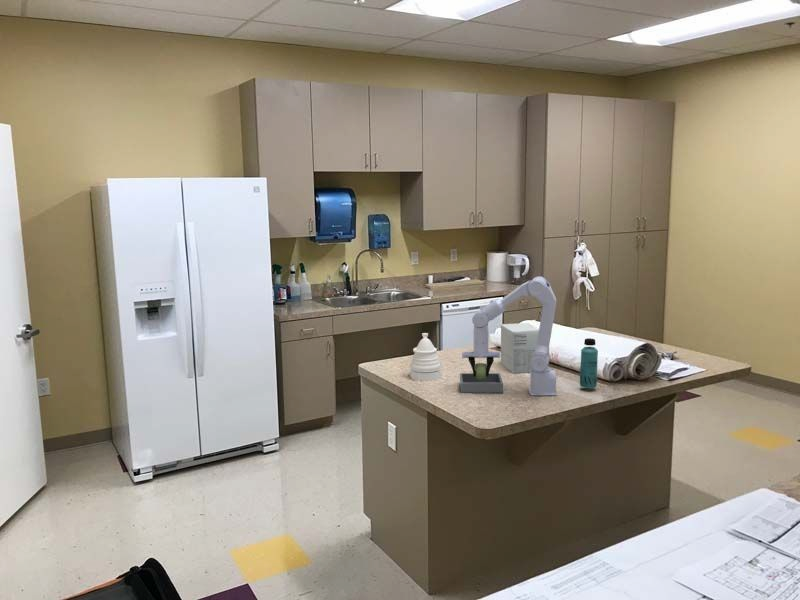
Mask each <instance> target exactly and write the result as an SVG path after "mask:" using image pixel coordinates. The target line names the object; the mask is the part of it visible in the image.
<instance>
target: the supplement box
mask: <svg viewBox="0 0 800 600" xmlns="http://www.w3.org/2000/svg"><path fill="white" fill-rule="evenodd" d="M538 333H539V328H538V327H536V326H534V325H532V324H530V323H529V322H525V323H501V324H500V364H501V365H503V367H505V368H506V369H507V370H509V372H510V373H512V374H519V373H531V368H532V367H531V360H532V358H533V357H534V354H535V350H536V346H537V339H538Z"/></svg>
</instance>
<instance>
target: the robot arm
mask: <svg viewBox="0 0 800 600" xmlns="http://www.w3.org/2000/svg"><path fill="white" fill-rule="evenodd" d="M530 295H531V296H532V297H534V298H536V299H537V300H538V301H539V302H540V303H541V304H542V310H541V316H540V320H539V321H540V323H539V328H538V329H539V333H538V339H537V346H536V350H535V354H534V357H533V358H532V360H531V367H532V368H531V372H530V382H529V383H530V387H528V389H527V390H528V392H529V394H530V396H557V374H556V370H555V369H551V368H550V367H549V364H550V362H551V361H550V360H551V356H550V352H549V351H550V344H551V337H552V333H553V332H552V331H553V325H554V319H555V315H556V314H555V312H556V307H557V298H556V295H555V293H554V291H553V289H552V286H551V283H550V282H549V281H548V280H547V279H546V278H545V277H543V276H540V275H539V276H534V278H533V277H532V280H531V279H530V280H527V281H526V282H524V283H522V284H520V285H519V286H517V288H515V289H514V290H512V291H511V292H510V293H508V294H507V295H506V296H504V297H503V298H502V299H497V298H496V299H492V300H490V301H489V304H487V305H486V306H484V307H481V308H479V309H480V310H479V311H477V312H475V313H474V314H473V316H472V319H471V322H472V324H473V351H463V352H461V358H462V359H468V362H469V364H470V367H471V369H472V373H473V376H475V364H476V359H478V358H479V359H486V364H487V376H488V375H489V373H490V371H491V367H492V365H493V364H494V359H501V351H500V352H498V351H489V323H490V321H493V320H495V318H497V317H499V316H500V315H502V314H503V313H504V312H505V311H506V307H507V306H509V305H510V304H512V303H514V302H515V301H517V300H518V299H519V298H521V297H522V296H525V297H528V296H530Z"/></svg>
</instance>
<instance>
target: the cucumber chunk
mask: <svg viewBox="0 0 800 600" xmlns="http://www.w3.org/2000/svg"><path fill="white" fill-rule="evenodd" d="M475 380H477V381H485V380H487V363H484V362H477V363H475Z"/></svg>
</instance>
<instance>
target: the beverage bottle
mask: <svg viewBox="0 0 800 600" xmlns="http://www.w3.org/2000/svg"><path fill="white" fill-rule="evenodd" d="M594 346H596V338H592V337H591V338H584V347H583V348H581V350H580V366H579V368H580V369H579V370H580V372H579V373H580V374H579V385H580V387H581V388H584V389H594V388H596V387H597V385H598V358H599V356H598V355H599V354H598V353H599V350H598V349H597V348H596V347H594Z"/></svg>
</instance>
